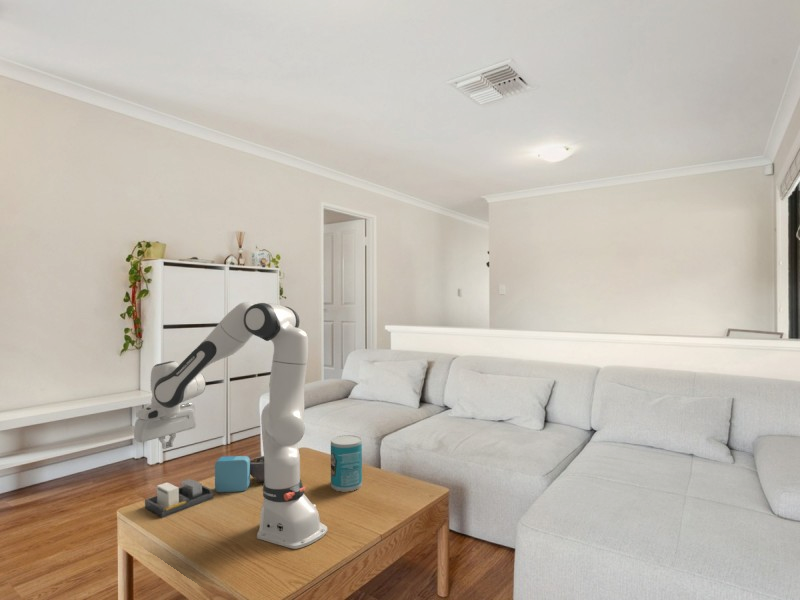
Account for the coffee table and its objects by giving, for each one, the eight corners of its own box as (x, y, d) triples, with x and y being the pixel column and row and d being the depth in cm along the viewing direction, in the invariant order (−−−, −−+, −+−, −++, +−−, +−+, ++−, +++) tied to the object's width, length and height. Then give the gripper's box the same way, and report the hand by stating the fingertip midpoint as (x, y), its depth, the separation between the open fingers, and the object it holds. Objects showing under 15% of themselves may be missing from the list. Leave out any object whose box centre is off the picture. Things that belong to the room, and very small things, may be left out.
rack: (213, 498, 166) (213, 482, 166) (162, 518, 152) (161, 500, 152) (195, 490, 174) (195, 474, 174) (145, 508, 159) (144, 491, 159)
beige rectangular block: (178, 506, 158) (178, 487, 158) (168, 510, 155) (168, 491, 155) (167, 500, 163) (167, 482, 163) (157, 504, 160) (156, 485, 160)
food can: (325, 489, 174) (324, 442, 174) (340, 477, 185) (340, 433, 185) (352, 494, 169) (352, 446, 169) (367, 482, 180) (367, 436, 180)
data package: (250, 486, 177) (250, 455, 177) (247, 491, 173) (247, 459, 172) (218, 487, 176) (218, 456, 176) (214, 492, 171) (214, 461, 171)
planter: (243, 485, 178) (242, 434, 178) (267, 469, 194) (267, 422, 194) (276, 489, 174) (276, 437, 173) (298, 473, 190) (298, 425, 189)
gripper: (190, 400, 169) (191, 437, 169) (131, 413, 152) (132, 454, 153) (199, 402, 165) (200, 440, 165) (139, 416, 149) (141, 458, 149)
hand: (167, 447), depth 159 cm, fingers closed
